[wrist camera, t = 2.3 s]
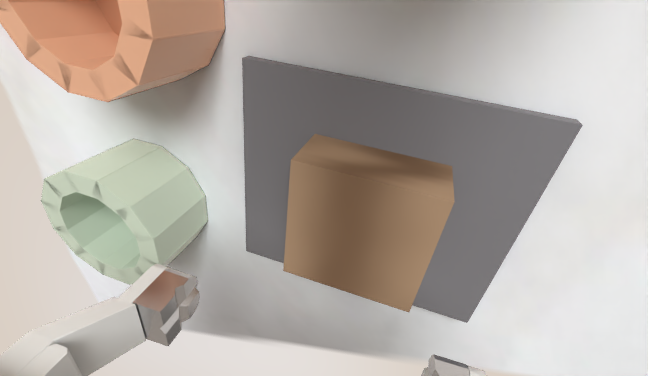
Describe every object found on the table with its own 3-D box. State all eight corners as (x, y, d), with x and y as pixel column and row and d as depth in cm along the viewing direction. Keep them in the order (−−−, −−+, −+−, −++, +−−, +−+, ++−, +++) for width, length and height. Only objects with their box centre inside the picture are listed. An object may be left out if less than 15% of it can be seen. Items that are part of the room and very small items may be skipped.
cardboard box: (452, 166, 14) (454, 201, 12) (413, 268, 18) (409, 312, 15) (314, 133, 15) (290, 159, 13) (304, 234, 19) (283, 270, 16)
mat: (576, 119, 12) (582, 124, 12) (466, 314, 19) (467, 322, 18) (248, 55, 15) (242, 58, 15) (250, 245, 22) (246, 250, 21)
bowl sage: (201, 156, 19) (143, 195, 15) (211, 250, 23) (167, 298, 19) (97, 128, 20) (21, 157, 17) (123, 221, 25) (67, 261, 21)
